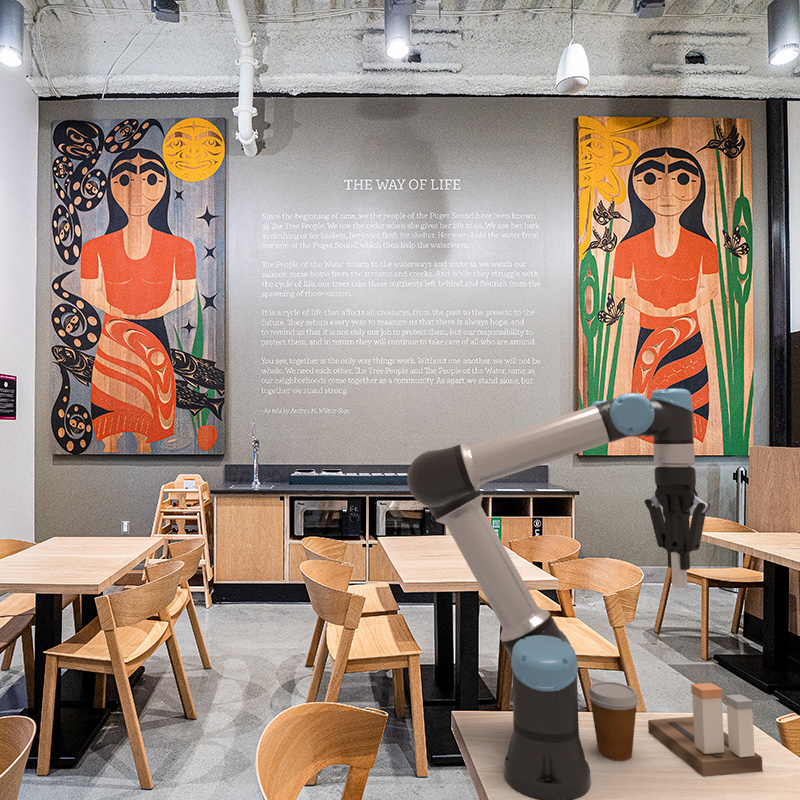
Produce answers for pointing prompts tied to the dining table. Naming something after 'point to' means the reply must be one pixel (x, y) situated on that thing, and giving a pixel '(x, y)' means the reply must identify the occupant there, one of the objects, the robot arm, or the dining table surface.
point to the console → (681, 742)
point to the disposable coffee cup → (614, 718)
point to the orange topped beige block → (708, 718)
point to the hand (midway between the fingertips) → (679, 585)
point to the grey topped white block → (740, 725)
